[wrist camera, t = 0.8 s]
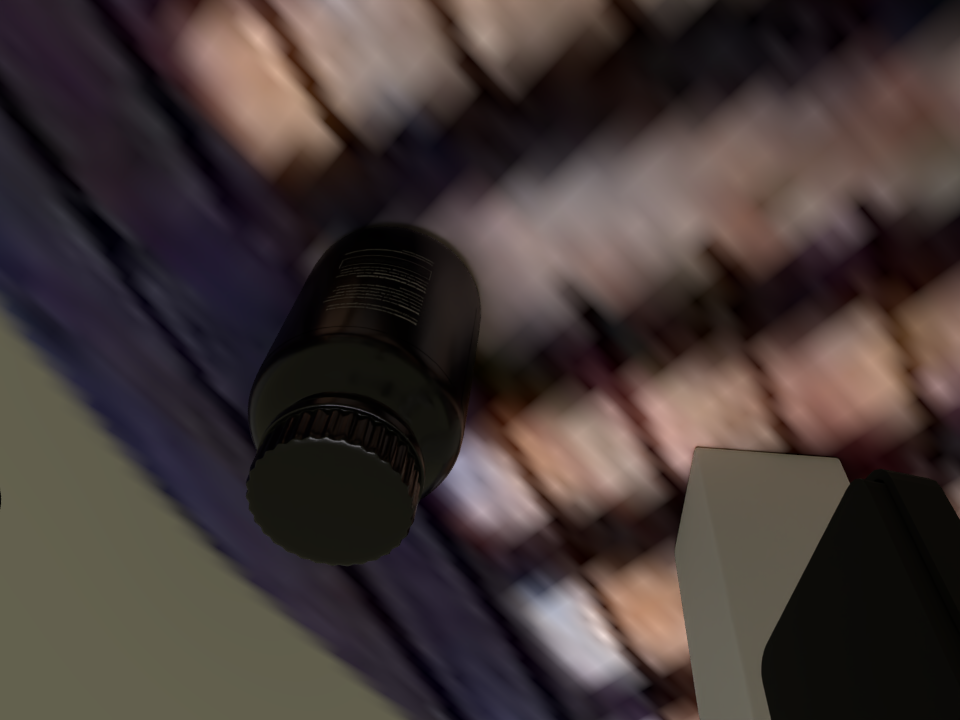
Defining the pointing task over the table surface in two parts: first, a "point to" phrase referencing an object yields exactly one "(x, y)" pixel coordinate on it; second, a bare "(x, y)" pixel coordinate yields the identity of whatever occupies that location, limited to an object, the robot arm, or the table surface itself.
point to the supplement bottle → (363, 396)
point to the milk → (746, 563)
